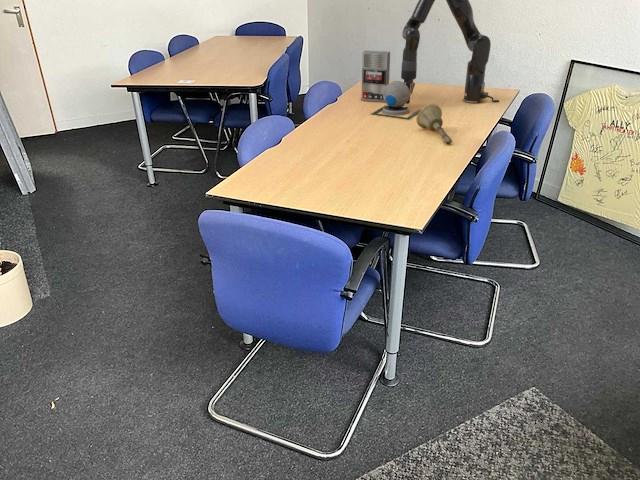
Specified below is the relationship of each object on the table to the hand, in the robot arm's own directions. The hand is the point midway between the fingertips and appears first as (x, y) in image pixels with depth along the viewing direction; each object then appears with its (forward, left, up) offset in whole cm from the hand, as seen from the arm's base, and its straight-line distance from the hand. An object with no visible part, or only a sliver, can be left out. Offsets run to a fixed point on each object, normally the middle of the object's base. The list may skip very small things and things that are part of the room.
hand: (407, 103), depth 276 cm
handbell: (-32, +38, -2) cm, 50 cm away
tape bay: (0, +12, -2) cm, 12 cm away
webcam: (+1, +12, -2) cm, 12 cm away
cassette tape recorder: (+20, -3, -2) cm, 20 cm away
